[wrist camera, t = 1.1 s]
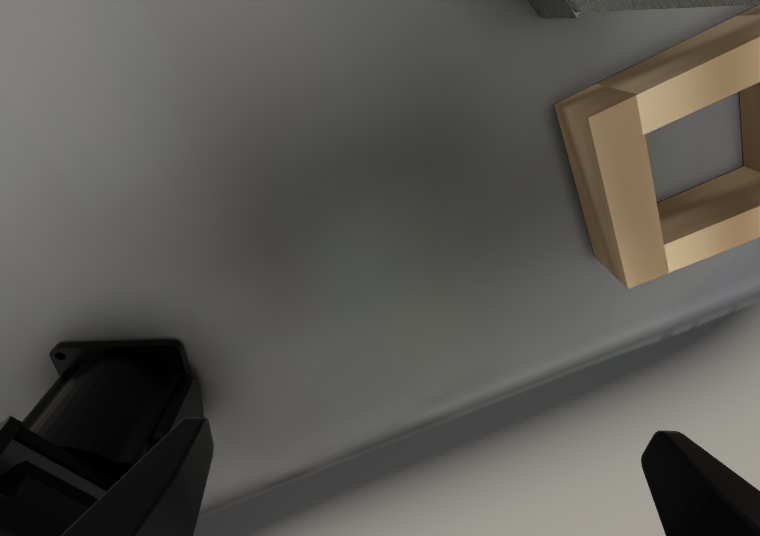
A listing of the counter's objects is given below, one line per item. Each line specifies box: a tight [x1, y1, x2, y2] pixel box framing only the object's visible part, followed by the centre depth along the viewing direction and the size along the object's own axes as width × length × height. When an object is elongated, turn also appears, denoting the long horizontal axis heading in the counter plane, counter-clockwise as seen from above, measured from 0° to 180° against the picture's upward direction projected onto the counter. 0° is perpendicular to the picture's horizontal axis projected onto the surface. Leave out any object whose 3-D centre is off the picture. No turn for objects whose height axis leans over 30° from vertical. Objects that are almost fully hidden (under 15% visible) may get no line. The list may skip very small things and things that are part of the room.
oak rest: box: [554, 4, 760, 289], centre depth 18 cm, size 9×8×3 cm
